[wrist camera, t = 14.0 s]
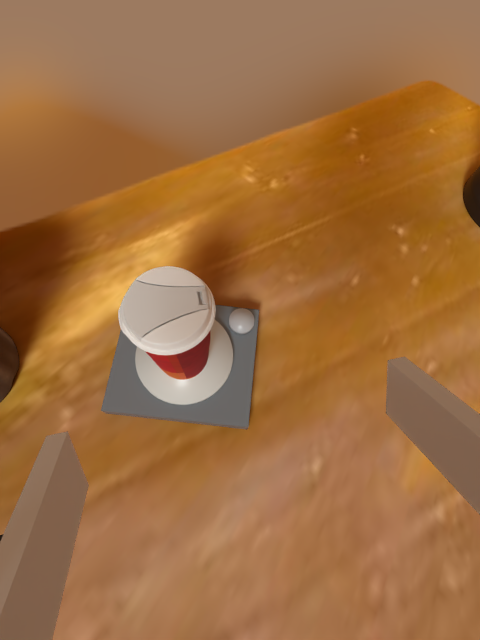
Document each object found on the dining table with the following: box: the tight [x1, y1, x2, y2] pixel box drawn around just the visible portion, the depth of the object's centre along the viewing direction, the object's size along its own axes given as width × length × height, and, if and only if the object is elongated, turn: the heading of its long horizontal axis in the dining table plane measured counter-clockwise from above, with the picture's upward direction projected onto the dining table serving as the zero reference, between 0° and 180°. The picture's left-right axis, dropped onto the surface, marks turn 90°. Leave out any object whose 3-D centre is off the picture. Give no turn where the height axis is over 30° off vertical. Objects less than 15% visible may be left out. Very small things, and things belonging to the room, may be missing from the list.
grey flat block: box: [101, 305, 259, 429], centre depth 43 cm, size 16×14×3 cm
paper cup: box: [119, 266, 216, 380], centre depth 35 cm, size 8×8×14 cm
